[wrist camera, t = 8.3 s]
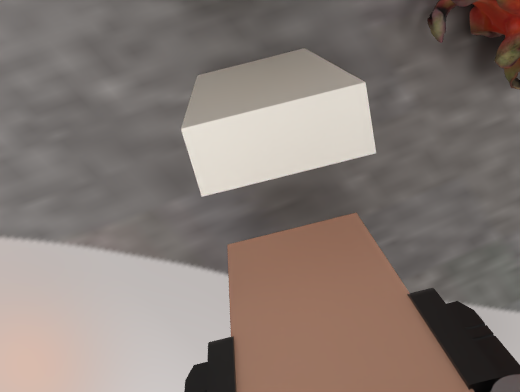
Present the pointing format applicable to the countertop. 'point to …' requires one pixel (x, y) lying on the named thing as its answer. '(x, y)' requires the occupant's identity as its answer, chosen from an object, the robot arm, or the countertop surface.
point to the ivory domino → (274, 120)
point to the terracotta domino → (328, 316)
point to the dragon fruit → (488, 28)
